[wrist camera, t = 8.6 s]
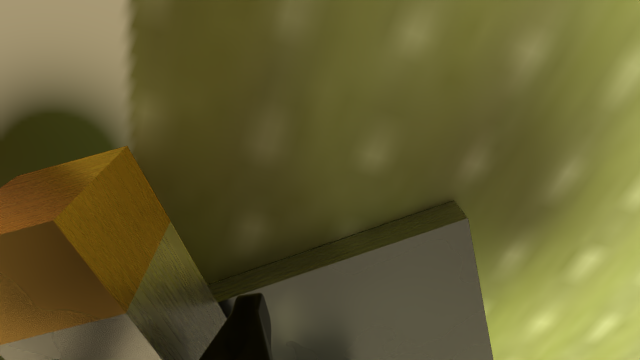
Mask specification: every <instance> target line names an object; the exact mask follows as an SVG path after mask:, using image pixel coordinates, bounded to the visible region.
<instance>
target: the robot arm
mask: <svg viewBox="0 0 640 360" xmlns="http://www.w3.org/2000/svg"><path fill="white" fill-rule="evenodd" d="M199 360H273V356H272V352H271V320H270V315H269V312H268V308H267V305H266V301H265V298H264V295H263V294H262V293H254V294H246V295H239V296H238V297H237V298H236V300H235V302H234V306H233V309H232V312H231V314H230V316H229V317H228V319H227V320H226V321H225V323H224V324H223V326H222V327H221V329H220V330H219V331H218V333H217V334H216V336H215V337H214V339H213V340H212V341H211V343H210V344H209V346H208V347H207V349H206V350H205V351H204V353H203V354H202V356H201V357H200V359H199Z"/></svg>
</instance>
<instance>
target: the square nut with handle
mask: <svg viewBox="0 0 640 360" xmlns="http://www.w3.org/2000/svg"><path fill="white" fill-rule="evenodd" d="M226 320H227V319H226V317H225V315H224V313H223V312H222V310H221V308H220V306H219V305H218V303H217V301H216V299H215V298H214V296H213V294H212V292H211V291H210V289H209V287H208V285H207V284H206V282H205V280H204V278H203V277H202V275H201V273H200V272H199V270H198V268H197V266H196V265H195V263H194V261H193V259H192V258H191V256H190V254H189V252H188V251H187V249H186V247H185V245H184V244H183V242H182V240H181V238H180V237H179V235H178V233H177V231H176V230H175V228H174V226H173V225H172V223H171V221H170V219H169V218H168V216H167V214H166V212H165V211H164V209H163V207H162V205H161V204H160V202H159V200H158V198H157V197H156V195H155V193H154V191H153V190H152V188H151V186H150V184H149V183H148V181H147V179H146V178H145V176H144V174H143V172H142V171H141V169H140V167H139V165H138V164H137V162H136V160H135V158H134V157H133V155H132V153H131V151H130V150H129V148H128V146H124V147H121V148H117V149H114V150H110V151H106V152H103V153H99V154H95V155H92V156H88V157H85V158H81V159H77V160H73V161H70V162H66V163H63V164H59V165H55V166H52V167H48V168H44V169H41V170H37V171H34V172H30V173H26V174H22V175H19V176H17V177H15V178H14V179H12V180H11V181H9V182H8V183H7V184H5V185H4V186H2V187H1V188H0V355H1V356H2V357H3V358H4V359H5V360H199V359H200V357H201V356H202V354H203V353H204V351H205V350H206V349H207V347H208V346H209V344H210V343H211V341H212V340H213V339H214V337H215V336H216V334H217V333H218V331H219V330H220V329H221V327H222V326H223V324H224V323H225V321H226Z"/></svg>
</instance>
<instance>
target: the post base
mask: <svg viewBox="0 0 640 360" xmlns="http://www.w3.org/2000/svg"><path fill="white" fill-rule="evenodd" d="M208 287H209V289H210V291H211V292H212V294H213V296H214V298H215V299H216V301H217V303H218V305H219V306H220V308H221V310H222V312H223V313H224V315H225V317H226V319H228V317H229V316H230V314H231V312H232V309H233V306H234V302H235V300H236V298H237V297H238V296H239V295H246V294H254V293H262V294H263V295H264V298H265V301H266V305H267V308H268V312H269V315H270V320H271V352H272V356H273V360H493V355H492V350H491V344H490V339H489V333H488V327H487V322H486V316H485V311H484V305H483V300H482V294H481V288H480V283H479V277H478V272H477V266H476V261H475V255H474V249H473V244H472V238H471V233H470V227H469V222H468V218H467V216H466V215H465V214H464V213H463V211H462V210H461V209H460V208H459V206H458V205H457V204H456V203H455V201H451V202H449V203H446V204H443V205H440V206H437V207H434V208H431V209H428V210H425V211H422V212H419V213H416V214H414V215H411V216H408V217H405V218H402V219H399V220H396V221H393V222H390V223H387V224H384V225H381V226H379V227H376V228H373V229H370V230H367V231H364V232H361V233H358V234H355V235H352V236H349V237H346V238H343V239H341V240H338V241H335V242H332V243H329V244H326V245H323V246H320V247H317V248H314V249H311V250H308V251H306V252H303V253H300V254H297V255H294V256H291V257H288V258H285V259H282V260H279V261H276V262H273V263H271V264H268V265H265V266H262V267H259V268H256V269H253V270H250V271H247V272H244V273H241V274H238V275H235V276H233V277H230V278H227V279H224V280H221V281H218V282H215V283H212V284H209V285H208ZM0 360H5V359H4V358H3V357H2V356H0Z"/></svg>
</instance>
